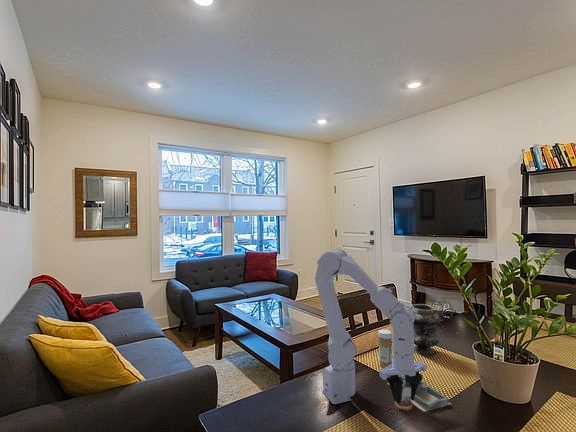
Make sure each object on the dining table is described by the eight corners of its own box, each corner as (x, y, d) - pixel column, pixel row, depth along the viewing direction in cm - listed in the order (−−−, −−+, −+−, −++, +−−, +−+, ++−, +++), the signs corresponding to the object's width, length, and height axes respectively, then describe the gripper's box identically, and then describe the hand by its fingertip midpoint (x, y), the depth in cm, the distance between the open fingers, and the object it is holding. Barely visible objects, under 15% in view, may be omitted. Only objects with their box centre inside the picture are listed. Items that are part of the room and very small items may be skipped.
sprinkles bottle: (395, 369, 112) (394, 331, 112) (386, 373, 110) (386, 334, 110) (384, 365, 116) (384, 328, 116) (376, 368, 113) (375, 330, 113)
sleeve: (402, 412, 86) (402, 390, 86) (391, 403, 90) (391, 381, 90) (416, 408, 87) (416, 387, 87) (405, 399, 92) (404, 379, 92)
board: (423, 416, 86) (423, 405, 86) (386, 386, 101) (386, 377, 101) (452, 408, 89) (451, 398, 89) (412, 381, 104) (412, 372, 104)
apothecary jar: (442, 359, 119) (441, 312, 119) (408, 356, 123) (407, 309, 123) (437, 347, 131) (436, 303, 131) (406, 344, 134) (405, 301, 135)
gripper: (390, 361, 83) (391, 413, 83) (434, 353, 87) (435, 402, 87) (374, 350, 89) (375, 399, 89) (416, 343, 94) (416, 389, 94)
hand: (403, 399), depth 89 cm, fingers closed on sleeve, 4 cm apart
